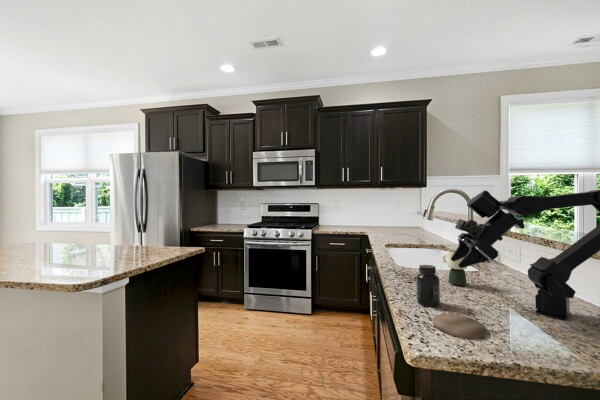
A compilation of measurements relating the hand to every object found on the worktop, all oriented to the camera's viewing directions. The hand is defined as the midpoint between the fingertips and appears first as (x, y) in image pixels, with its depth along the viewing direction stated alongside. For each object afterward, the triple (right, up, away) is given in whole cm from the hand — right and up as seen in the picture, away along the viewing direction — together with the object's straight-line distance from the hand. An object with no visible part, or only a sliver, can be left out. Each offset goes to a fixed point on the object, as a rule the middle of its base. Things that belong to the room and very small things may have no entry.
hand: (455, 263), depth 85 cm
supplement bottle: (-8, -14, +2) cm, 16 cm away
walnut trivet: (-8, -13, -15) cm, 21 cm away
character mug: (+13, -14, +21) cm, 28 cm away
